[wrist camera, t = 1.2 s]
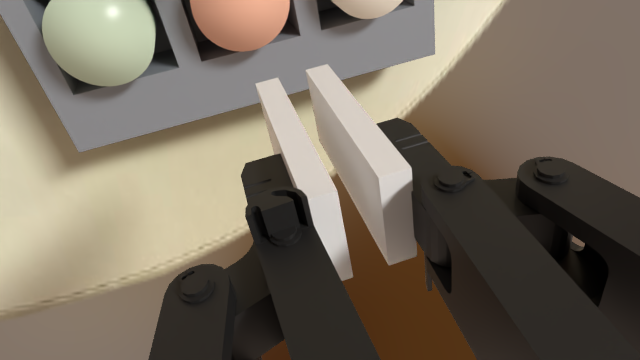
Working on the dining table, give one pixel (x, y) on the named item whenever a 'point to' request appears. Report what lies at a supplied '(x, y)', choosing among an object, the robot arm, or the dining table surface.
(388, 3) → the button cream
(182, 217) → the dining table surface
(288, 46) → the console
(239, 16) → the button terracotta
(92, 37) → the button sage
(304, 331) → the robot arm
